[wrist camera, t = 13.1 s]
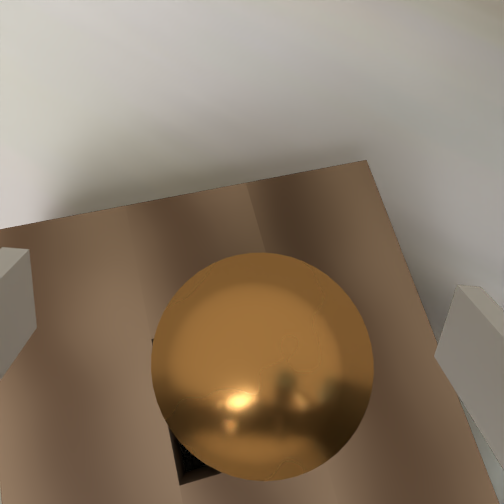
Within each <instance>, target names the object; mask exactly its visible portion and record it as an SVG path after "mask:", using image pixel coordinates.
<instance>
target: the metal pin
mask: <svg viewBox="0 0 504 504" xmlns="http://www.w3.org/2000/svg"><path fill="white" fill-rule="evenodd" d="M151 375H152V383H153V389H154V393H155V396H156V400H157V403H158V406H159V408H160V411H161V413H162V416H163V417H164V419H165V421H166V423H167V424H168V426H169V428H170V430H171V431H172V432H173V434H174V435H175V436H176V438H177V439H178V440H179V442H180V443H181V444H182V445H183V446H184V447H185V448H186V449H187V450H188V451H189V452H190V453H191V454H193V455H194V456H195V457H197V458H198V459H199V460H201V461H202V462H203V463H205V464H206V465H208V466H210V467H212V468H214V469H216V470H217V471H220V472H222V473H225V474H228V475H230V476H233V477H237V478H242V479H246V480H254V481H275V480H283V479H288V478H292V477H296V476H299V475H301V474H304V473H307V472H309V471H311V470H313V469H315V468H317V467H319V466H320V465H322V464H324V463H325V462H327V461H328V460H329V459H330V458H332V457H333V456H334V455H336V454H337V453H338V452H339V451H340V450H341V449H342V448H343V447H344V446H345V445H346V444H347V442H348V441H349V440H350V438H351V437H352V436H353V434H354V433H355V432H356V430H357V428H358V426H359V425H360V423H361V421H362V419H363V417H364V415H365V412H366V409H367V407H368V404H369V400H370V396H371V392H372V387H373V377H374V359H373V352H372V346H371V342H370V338H369V334H368V331H367V328H366V326H365V324H364V321H363V319H362V317H361V315H360V313H359V311H358V309H357V308H356V306H355V304H354V303H353V302H352V300H351V299H350V298H349V296H348V295H347V294H346V292H345V291H344V290H343V289H342V288H341V287H340V286H339V285H338V284H337V283H336V282H335V281H334V280H332V279H331V278H330V277H329V276H328V275H326V274H325V273H323V272H322V271H320V270H319V269H317V268H316V267H314V266H312V265H310V264H308V263H306V262H304V261H301V260H298V259H295V258H293V257H289V256H285V255H280V254H274V253H247V254H240V255H235V256H232V257H228V258H225V259H222V260H220V261H217V262H215V263H213V264H211V265H209V266H207V267H206V268H204V269H202V270H201V271H199V272H198V273H196V274H195V275H194V276H193V277H191V278H190V279H189V280H188V281H187V282H186V283H185V284H184V285H183V286H182V287H181V288H180V289H179V290H178V291H177V292H176V294H175V295H174V296H173V298H172V299H171V300H170V302H169V304H168V305H167V307H166V309H165V310H164V312H163V314H162V316H161V319H160V321H159V324H158V326H157V329H156V333H155V337H154V340H153V347H152V354H151Z"/></svg>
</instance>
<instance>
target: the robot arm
mask: <svg viewBox="0 0 504 504" xmlns="http://www.w3.org/2000/svg"><path fill="white" fill-rule="evenodd" d="M36 328H37V324H36V314H35V304H34V293H33V283H32V273H31V263H30V253H29V249H19V248H7V247H2V248H1V249H0V380H1V379H2V377H3V376H4V374H5V373H6V372H7V370H8V369H9V367H10V366H11V364H12V363H13V361H14V360H15V358H16V357H17V356H18V354H19V353H20V351H21V350H22V348H23V347H24V345H25V344H26V343H27V341H28V340H29V338H30V337H31V335H32V334H33V332H34V331H35V330H36ZM434 357H435V359H436V360H437V362H438V364H439V365H440V367H441V368H442V370H443V372H444V373H445V375H446V377H447V378H448V380H449V381H450V383H451V385H452V386H453V388H454V390H455V391H456V393H457V395H458V396H459V398H460V399H461V401H462V403H463V404H464V406H465V408H466V409H467V411H468V413H469V414H470V416H471V417H472V419H473V421H474V422H475V424H476V426H477V427H478V429H479V431H480V432H481V434H482V435H483V437H484V439H485V440H486V442H487V444H488V445H489V447H490V449H491V450H492V452H493V453H494V455H495V457H496V458H497V460H498V462H499V463H500V465H501V467H502V468H503V470H504V311H503V309H502V308H501V307H500V306H499V305H498V304H497V303H496V302H495V301H494V300H493V299H492V298H491V297H490V296H489V295H488V294H487V293H486V292H485V291H484V290H483V289H482V288H481V287H477V286H465V285H457V287H456V290H455V293H454V296H453V299H452V302H451V305H450V308H449V311H448V315H447V318H446V321H445V324H444V327H443V330H442V333H441V336H440V339H439V342H438V345H437V348H436V352H435V355H434Z"/></svg>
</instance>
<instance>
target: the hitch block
mask: <svg viewBox="0 0 504 504" xmlns="http://www.w3.org/2000/svg"><path fill="white" fill-rule="evenodd" d="M2 247H7V248H19V249H29V253H30V263H31V273H32V283H33V293H34V304H35V314H36V324H37V328H36V330H35V331H34V332H33V334H32V335H31V337H30V338H29V340H28V341H27V343H26V344H25V345H24V347H23V348H22V350H21V351H20V353H19V354H18V356H17V357H16V358H15V360H14V361H13V363H12V364H11V366H10V367H9V369H8V370H7V372H6V373H5V374H4V376H3V377H2V379H1V380H0V488H1V501H2V504H499V501H498V499H497V496H496V494H495V491H494V488H493V486H492V483H491V481H490V478H489V475H488V473H487V470H486V468H485V465H484V463H483V460H482V457H481V455H480V452H479V450H478V447H477V444H476V442H475V439H474V437H473V434H472V432H471V429H470V426H469V424H468V421H467V419H466V416H465V413H464V411H463V408H462V406H461V403H460V401H459V398H458V395H457V393H456V391H455V390H454V388H453V386H452V385H451V383H450V381H449V380H448V378H447V377H446V375H445V373H444V372H443V370H442V368H441V367H440V365H439V364H438V362H437V360H436V359H435V357H434V355H435V352H436V348H437V345H438V344H437V341H436V338H435V336H434V333H433V331H432V328H431V326H430V323H429V320H428V318H427V315H426V313H425V310H424V307H423V305H422V302H421V300H420V297H419V295H418V292H417V289H416V287H415V284H414V282H413V279H412V276H411V274H410V271H409V269H408V266H407V264H406V261H405V258H404V256H403V253H402V251H401V248H400V245H399V243H398V240H397V238H396V235H395V233H394V230H393V227H392V225H391V222H390V220H389V217H388V214H387V212H386V209H385V207H384V204H383V202H382V199H381V196H380V194H379V191H378V189H377V186H376V183H375V181H374V178H373V176H372V173H371V171H370V168H369V165H368V163H367V160H364V161H358V162H353V163H348V164H343V165H337V166H332V167H327V168H321V169H316V170H311V171H306V172H300V173H295V174H290V175H285V176H279V177H274V178H269V179H263V180H258V181H253V182H248V183H242V184H237V185H232V186H226V187H221V188H216V189H211V190H205V191H200V192H195V193H190V194H184V195H179V196H174V197H168V198H163V199H158V200H153V201H147V202H142V203H137V204H131V205H126V206H121V207H116V208H110V209H105V210H100V211H95V212H89V213H84V214H79V215H73V216H68V217H63V218H58V219H52V220H47V221H42V222H36V223H31V224H26V225H21V226H15V227H10V228H5V229H0V249H1V248H2ZM247 253H274V254H280V255H285V256H289V257H293V258H295V259H298V260H301V261H304V262H306V263H308V264H310V265H312V266H314V267H316V268H317V269H319V270H320V271H322V272H323V273H325V274H326V275H328V276H329V277H330V278H331V279H332V280H334V281H335V282H336V283H337V284H338V285H339V286H340V287H341V288H342V289H343V290H344V291H345V292H346V294H347V295H348V296H349V298H350V299H351V300H352V302H353V303H354V304H355V306H356V308H357V309H358V311H359V313H360V315H361V317H362V319H363V321H364V324H365V326H366V328H367V331H368V334H369V338H370V342H371V346H372V352H373V359H374V377H373V387H372V392H371V396H370V400H369V404H368V407H367V409H366V412H365V415H364V417H363V419H362V421H361V423H360V425H359V426H358V428H357V430H356V432H355V433H354V434H353V436H352V437H351V438H350V440H349V441H348V442H347V444H346V445H345V446H344V447H343V448H342V449H341V450H340V451H339V452H338V453H337V454H336V455H334V456H333V457H332V458H330V459H329V460H328V461H327V462H325V463H324V464H322V465H320V466H319V467H317V468H315V469H313V470H311V471H309V472H307V473H304V474H301V475H299V476H296V477H292V478H288V479H283V480H275V481H254V480H246V479H242V478H237V477H233V476H230V475H228V474H225V473H222V472H220V471H217V470H216V469H214V468H212V467H210V466H205V467H201V468H198V469H194V470H191V471H188V472H185V468H184V463H183V458H182V453H181V448H180V443H179V440H178V439H177V438H176V436H175V435H174V434H173V432H172V431H171V430H170V428H169V426H168V424H167V423H166V421H165V419H164V417H163V416H162V413H161V411H160V408H159V406H158V403H157V400H156V396H155V393H154V389H153V383H152V375H151V354H152V347H153V340H154V337H155V333H156V329H157V326H158V324H159V321H160V319H161V316H162V314H163V312H164V310H165V309H166V307H167V305H168V304H169V302H170V300H171V299H172V298H173V296H174V295H175V294H176V292H177V291H178V290H179V289H180V288H181V287H182V286H183V285H184V284H185V283H186V282H187V281H188V280H189V279H190V278H191V277H193V276H194V275H195V274H196V273H198V272H199V271H201V270H202V269H204V268H206V267H207V266H209V265H211V264H213V263H215V262H217V261H220V260H222V259H225V258H228V257H232V256H235V255H240V254H247Z"/></svg>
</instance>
